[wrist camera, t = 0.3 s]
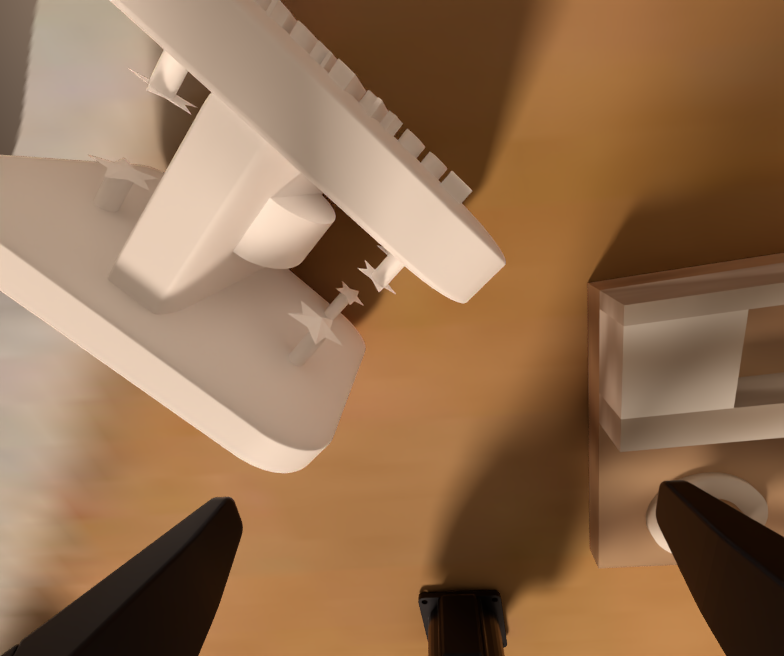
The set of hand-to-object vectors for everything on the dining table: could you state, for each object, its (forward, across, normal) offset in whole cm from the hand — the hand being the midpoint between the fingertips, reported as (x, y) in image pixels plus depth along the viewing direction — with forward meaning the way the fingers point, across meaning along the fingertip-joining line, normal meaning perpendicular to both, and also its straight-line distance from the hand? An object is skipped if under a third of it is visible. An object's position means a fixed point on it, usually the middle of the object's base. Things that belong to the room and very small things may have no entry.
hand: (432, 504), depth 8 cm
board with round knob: (+14, -15, +9) cm, 23 cm away
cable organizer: (+15, +6, -7) cm, 17 cm away
